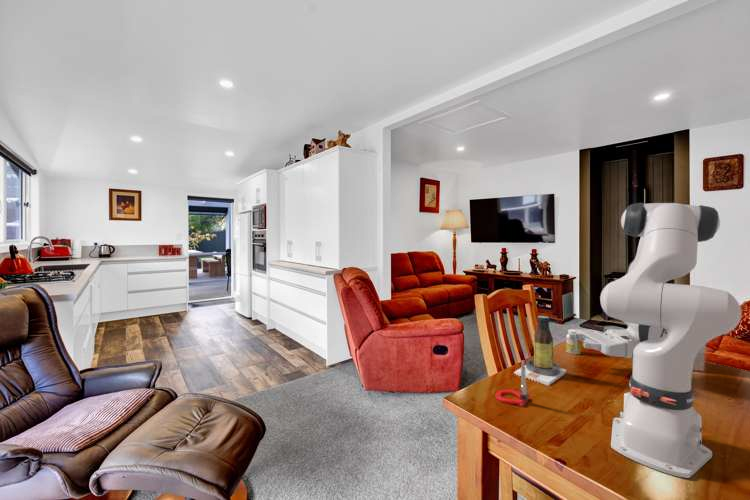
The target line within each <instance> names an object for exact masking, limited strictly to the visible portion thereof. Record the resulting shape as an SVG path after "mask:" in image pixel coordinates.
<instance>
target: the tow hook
mask: <svg viewBox="0 0 750 500" xmlns="http://www.w3.org/2000/svg"><path fill="white" fill-rule="evenodd" d="M524 366H525V360H524V359H523V360H521V367H520V368H521V378H520V379H521V382H520V383H521V385H520V392H519V391H516V390H512V389H499V390H498V391H496V392H495V398H496V399H497V400H498V401H500V402H502V403H504V404H505V403H506V404H511V405H518V406H520V407H523V406H525V405H526V403H528V401H529V400H530V398H531V396H530V395H529V393H528V391H527V390H528V388H527V387H528V386H527V384H526V379H527V378H526V375H525V367H524ZM502 395H514V396H515V397H518V398H519V399H518V398H515V399H510V398H507V397H503V396H502Z"/></svg>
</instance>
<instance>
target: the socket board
mask: <svg viewBox="0 0 750 500" xmlns="http://www.w3.org/2000/svg"><path fill="white" fill-rule="evenodd" d="M524 367H525V375H526V379H527V378H528V379H527V380H530V379H531V380H530V381H533V380H534V381H533V382H536V381H537V383H539V382H540V384H543V385H545V386H550V385H551V384H553V383H554V382H556V381H557V380H559V379H560V378H561V377H562V376H564V375H565V374H567V369H564V368H561V367H560V365H559V364H558V363H557V362H554V361H553V369H543V368H538V367H535V365H534V358H528V359H527V360H526V363H525V364H524ZM514 374H516V375H515V376H517V375H518V377H520V376H521V367H520V368H518V369H516V370H515V371H514V372H513V375H514Z"/></svg>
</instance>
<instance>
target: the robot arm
mask: <svg viewBox="0 0 750 500" xmlns="http://www.w3.org/2000/svg"><path fill="white" fill-rule="evenodd" d="M620 225H621V228H622V229H623V231H622V232H624V233H625V234H626V235H628V236H631V237H636V238H638V237H640V239H639V240H638V241H639V242H638V244H637V245H638V246H637V249H636V250H637V251H636V254H635V258H634V259H633V260H632V261H631V262H630V263H629V265H628V266H627V269H626V271H625V275H623V276H622V277H620V278H618V279H616V280H613V281H611V282H609V283H607V284H606V285H605V286H604V288H603V289H602V290H601V292H600V296H599V299H600V300H599V301H600V306H601V309H602V311H603V312H604V313H605V314H606V316H608V317H609V318H613V319H616V320H619V321H621V322H623V323H624V324H626V326H627V328H624V329H625V330H624V329H608V330H606V332H605V333H604V332H600V331H598V330H593V329H585V328H578V329H575V330H576V334H569V333H568V334H569V339H571V340H576V339H579V340H581V342H582V347H583V348H584V349H590V350H595V351H599V352H601V353H602V354H604V355H606V356H610V357H617V358H625V359H632V374H631V375H630V379H629V382H628V385H629V387H628V388H629V389H628V392H626V393H623V394H624V395H623V411H619V415H618V416H619V417H614V418H613V420H612V426H611V427H612V428H611V437H610V438H611V440H610V447H611V448H612V449H613V450H614V451H616V452H617V453H619V454H621V455H622V456H623V457H626V458H628V459H630V460H632V461H633V462H636V463H638V464H641V465H644V466H646V467H648V468H652V469H654V470H657V471H659V472H661V473H665V474H668V475H671V476H675V477H679V478H685V479H689V478H692V477H693V475H695V474H696V473H697V472H698V471H699V470H700V469H702V467H703V466H704V465H705V464H706V463H707V462H708V461H709V460H710V459H712V458H713V451H712V450H711V449H709V448H708V447H707V446H705V445H704V444H702V443H703V442H702V438H703V436H702V430H703V429H702V428H703V426H702V416H701V415H700V414H699V413H698V412H697V410H695V409H694V407H693V406H694V400H695V394H694V388H692V380H693V379H692V376H693V371H694V370H693V364H694V360H695V357H696V355H697V353H698V352H699V350H700V349H701V348H702V347H703V346H704V345H705V344H706V345H707V343H709V342H710V341H712V340H713V339H716V338H718V337H720V336H723V335H725V334H728V333H730V332H731V331H734V329H736V328H737V326H738V325H739V323H740V322H741V319H742V308H741V306H740V303H739V302H738V300H737V298H735V296H734V295H732V294H731V293H730V292H728V291H725V290H721V289H718V288H713V287H708V286H704V285H693V284H692V285H691V284H682V283H681V284H679V283H668V282H669V281H672V280H675V279H679V278H682V277H684V276H686V275H688V274H689V273H691V272H692V271H693V270H694V269H695V267H696V266H697V260H698V245H699V244H698V243H701V242H708V241H709V240H711V239H713V238H714V237H715V234H717V232H718V231H719V229H720V225H721V220H720V215H719V212H718V210H717V209H716V208H715V207H711V206H707V205H701V204H700V205H692V204H683V203H680V202H679V203H677V202H653V203H643V202H638V203H633V204H630V205H628V206H627V207H626V208H625V210H624V211H623V213H622V215H621V219H620ZM665 331H666V332H665Z"/></svg>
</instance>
